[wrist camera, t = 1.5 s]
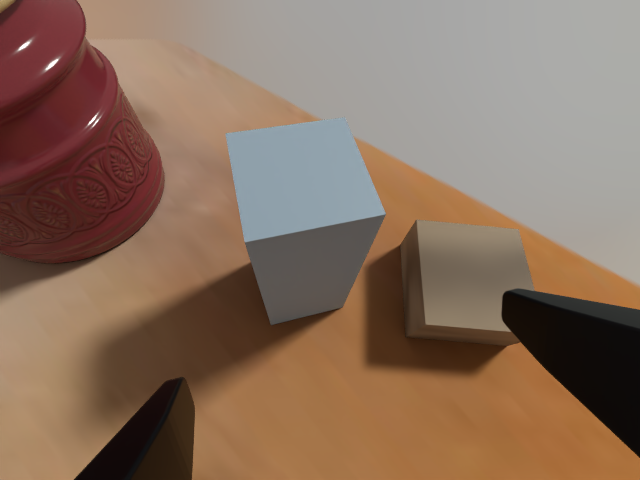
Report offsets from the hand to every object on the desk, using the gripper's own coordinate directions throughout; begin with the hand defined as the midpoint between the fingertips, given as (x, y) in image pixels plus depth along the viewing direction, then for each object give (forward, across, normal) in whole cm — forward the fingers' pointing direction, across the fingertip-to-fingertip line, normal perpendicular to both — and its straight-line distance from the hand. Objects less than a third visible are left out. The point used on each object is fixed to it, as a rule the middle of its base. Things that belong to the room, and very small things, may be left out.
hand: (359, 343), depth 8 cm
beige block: (+11, -10, +7) cm, 17 cm away
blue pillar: (+14, 0, +4) cm, 14 cm away
